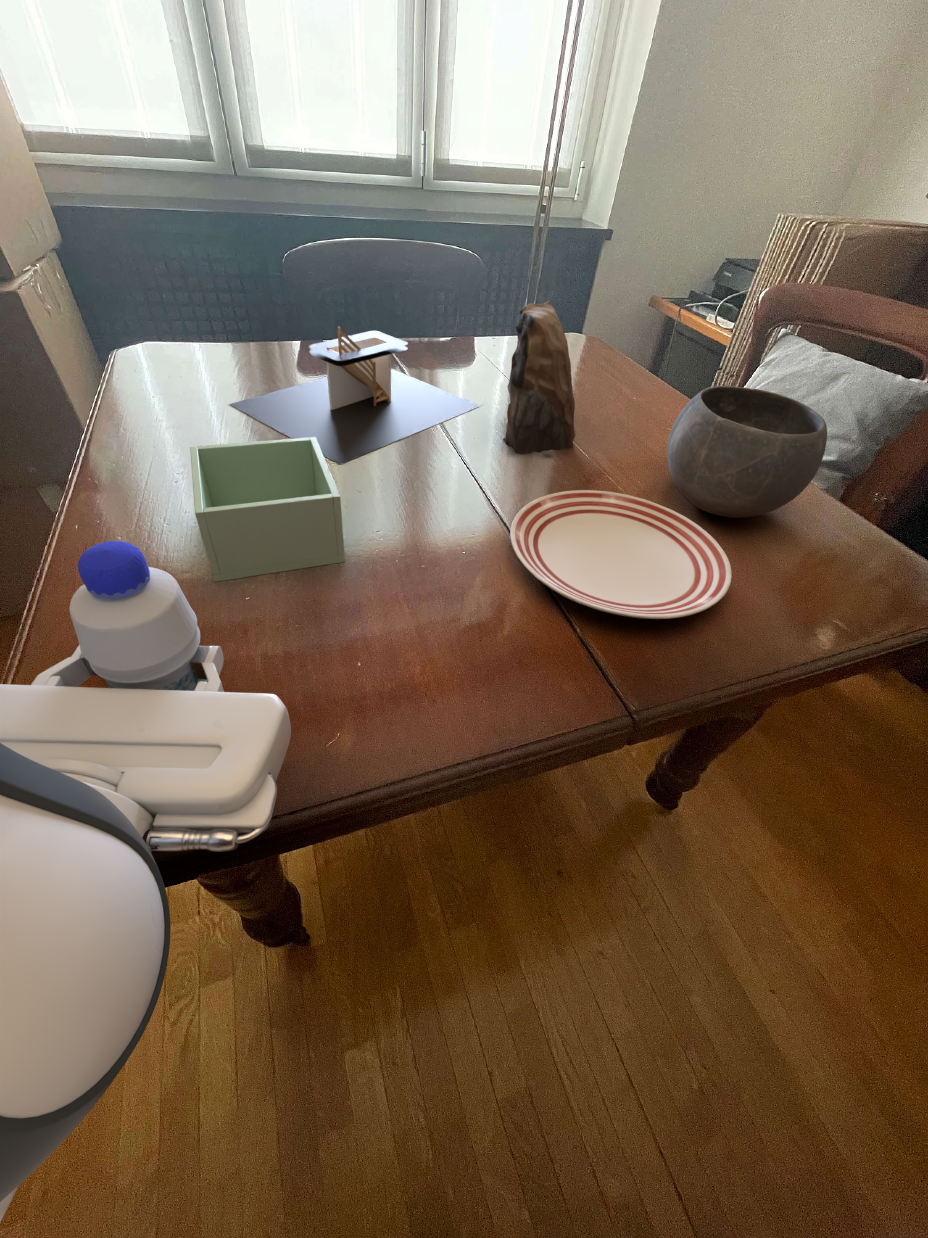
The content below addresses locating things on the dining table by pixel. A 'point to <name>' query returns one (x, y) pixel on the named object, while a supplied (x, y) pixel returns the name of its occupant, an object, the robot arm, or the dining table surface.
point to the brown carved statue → (540, 384)
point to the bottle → (133, 621)
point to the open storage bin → (266, 507)
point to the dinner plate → (620, 554)
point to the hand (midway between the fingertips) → (155, 649)
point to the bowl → (744, 450)
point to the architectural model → (356, 399)
